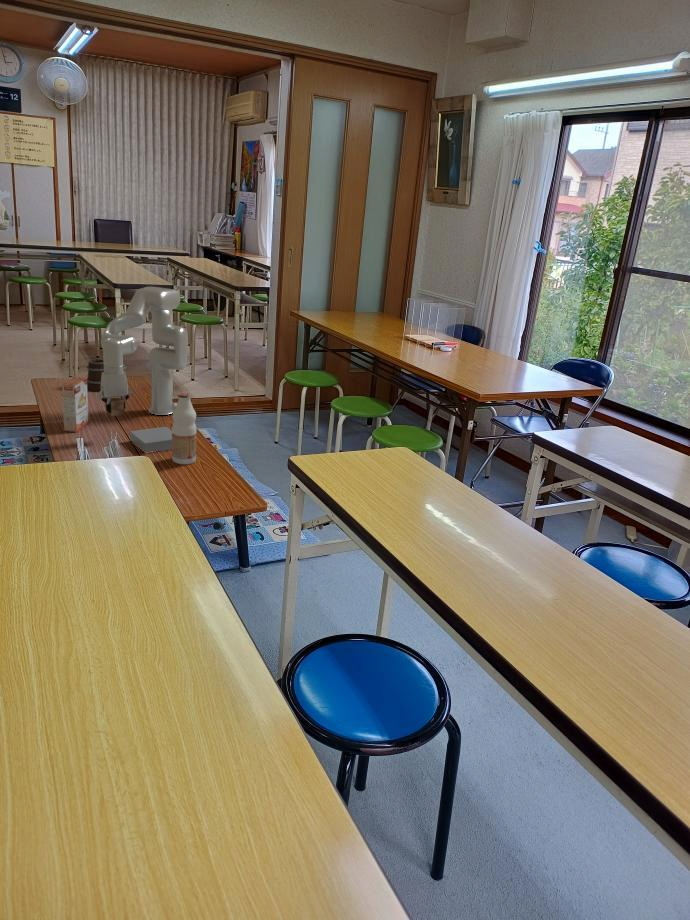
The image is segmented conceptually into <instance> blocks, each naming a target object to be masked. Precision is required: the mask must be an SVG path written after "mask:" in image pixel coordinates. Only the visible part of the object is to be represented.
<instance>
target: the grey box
mask: <svg viewBox="0 0 690 920" xmlns="http://www.w3.org/2000/svg"><path fill="white" fill-rule="evenodd" d="M129 435H130V436H129V437H130V438H129V439H130V441H132V442H133V443H134V444H136V445H137V446H139V447H140V448H141V449H143V450H144V451H145V452H150V451H161V452H167V451H166V450H168V451H172V429H170V428H169V427H167V426H160V427H153V428H147V429H146V428H145V429H139V430H130V431H129ZM132 442H131V443H132ZM133 443H132V444H133ZM134 444H133V445H134Z"/></svg>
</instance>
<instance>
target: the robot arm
mask: <svg viewBox="0 0 690 920" xmlns="http://www.w3.org/2000/svg"><path fill="white" fill-rule="evenodd" d="M180 302H181V295H180V292H179V291H177V290H176V289H172V288H165V287H159V286H145V287H141V288H138V289H137V290H136V291H135V292H134V294H133V297H132V298H131V301H130V302H129V304H128V307H127V308H126V311H125V312H124V313H122V314H121V315H119V316H117V317H116V318H114V319H113V320H111V321H110V322H109V323H108V324H107V325H106V327H105V329H104V332H103V333H102V336H101V339H100V346H101V348H102V356H103V357H102V360H104V372H102V376H101V391H100V392H97V393H98V394H97V395H96V398H98V399H99V400H101V401H102V402H104V403H105V411H106V412H107V413H108V414H109V415H110V413H111V404H110V399H111V398H118V397H119V398H120V399H122V400H123V401H124V413H125V410H126V403H127V400H128V399H129V398H130V397H131V396H132V395H133V393H134V392H133V391H132V390H131V389H130V388H129V385H128V384H129V383H128V379H127V375H126V371H125V370H126V369H128V366H127V365H125V364H124V356H127V355H131V354H133V353H135V352H136V351H137V349H138V341H137V339H136V338H135V337H133V336H130V335H126V334H120V333H121V332H123V331H126V330H129V329H134V328H137V327H140V326H142V325H144V324H145V322H146V320H147V319H148V315H149V314H150V313H151V334H152V335H151V337H152V341H153V342H154V343H155V344H157V345H160V346H156V347H153V348H151V349H150V351H149V352H148V360H149V365H150V373H151V374H150V376H151V380H150V381H151V407H149V408H148V413H149V414H150V413H151V414H150V415H152V414H155V415H154V416H156V415H168V416H170V415H169V414H172V413H173V411H174V410H175V408H176V406H177V403H178V402H173V375H172V372H171V370H175V371H182V370H185V368H186V367H187V365H188V364H187V363H188V334H187V331H186V329H185V328H184V327H182V326H181V325H180V326H179V325H173V324H172V314H171V310H175V309H177V308H178V306H180ZM161 345H162V346H167V347H162V346H161ZM168 346H169V347H173V348H169V347H168Z"/></svg>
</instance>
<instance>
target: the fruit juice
mask: <svg viewBox="0 0 690 920" xmlns="http://www.w3.org/2000/svg"><path fill="white" fill-rule="evenodd" d="M191 397H192V394H191V393H190V392H188V391H182V392H178V394H177V399H178V400H177V402H176V403H177V406H176V408H175V410H174V411H173V415H172V421H173V423H172V428H171V431H172V450H171V451H172V453H171V459H172V462H173V463H175V464H178V465H190V464H194V463H195V462H196V460H197V425H196V419H197V412H196V410H195V409H194V407H193V404H192V401H191Z"/></svg>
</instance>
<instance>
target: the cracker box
mask: <svg viewBox="0 0 690 920" xmlns="http://www.w3.org/2000/svg"><path fill="white" fill-rule="evenodd" d="M87 378H88V377H77V376H74V377H72V378H71V379H69V380H68V381H67V380H66V381H65V382H64V383H62V384H61V393H62V394H61V395H62V396H61V397H62V398H61V399H62V417H63V420H62V421H63V432H72V433H77V432H79V431H80V430H81V429H82V428H84V427H85V426H86V425H87V424H88V423H89V406H88V405H89V401H88V400H89V399H88V390H87Z"/></svg>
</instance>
